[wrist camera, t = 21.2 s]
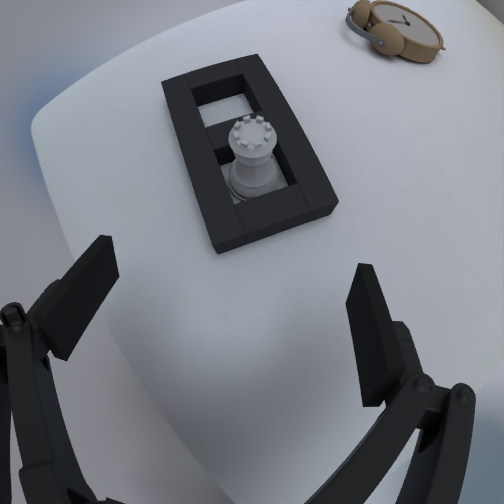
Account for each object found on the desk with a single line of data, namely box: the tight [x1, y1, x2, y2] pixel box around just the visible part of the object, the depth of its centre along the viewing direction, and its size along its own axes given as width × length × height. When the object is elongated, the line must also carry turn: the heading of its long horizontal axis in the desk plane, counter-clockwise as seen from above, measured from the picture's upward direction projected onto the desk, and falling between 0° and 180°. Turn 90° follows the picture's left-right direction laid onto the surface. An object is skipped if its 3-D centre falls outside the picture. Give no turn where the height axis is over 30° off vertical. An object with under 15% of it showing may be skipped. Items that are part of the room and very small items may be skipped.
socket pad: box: [161, 54, 339, 254], centre depth 26 cm, size 10×18×3 cm, turn 20°
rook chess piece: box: [228, 115, 280, 201], centre depth 23 cm, size 4×4×8 cm
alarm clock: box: [346, 0, 446, 63], centre depth 30 cm, size 11×5×15 cm
